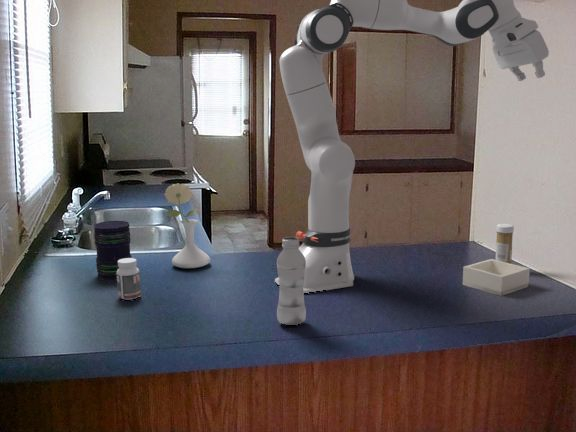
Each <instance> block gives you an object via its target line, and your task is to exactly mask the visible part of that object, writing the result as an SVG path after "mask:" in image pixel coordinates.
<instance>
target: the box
mask: <svg viewBox="0 0 576 432" xmlns="http://www.w3.org/2000/svg"><path fill="white" fill-rule="evenodd" d="M530 270H531V268H530V267H525V266H522V265H517V264H513V263H511V264H510V263H506V262H502V261H498V260H496V259H494V258H490V259H486V260H481V261H479V262H475V263H472V264H469V265H464V266H463V271H462V285H463V286H465V287H469V288H473V289H476V290H480V291H482V292H486V293H488V294H489V293H490V294H493V295H497V296H499V297H502V296H505V295H508V294H511V293H514V292H516V291H520V290H522V289H526V288H529V285H530V273H531V271H530Z"/></svg>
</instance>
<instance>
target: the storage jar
mask: <svg viewBox="0 0 576 432" xmlns="http://www.w3.org/2000/svg"><path fill="white" fill-rule="evenodd" d="M93 229H94V230H93V233H94V234H93V237H94V238H93V239H94V245H95V248H96V249H95V250H96V259H95V262H96V264H95V265H96V266H95V267H96V270H97V278H98V279H99V280H101V281H117V270H118V269H119V266H118V260H120V259H124V258H133V256H132V255H131V247H130V246H131V244H130V243H131V240H132V239H131V231H130V223H129V221H124V220H107V221H106V220H105V221H101V222H98V223H95V224H94V225H93Z"/></svg>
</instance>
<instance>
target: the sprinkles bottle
mask: <svg viewBox="0 0 576 432" xmlns="http://www.w3.org/2000/svg"><path fill="white" fill-rule="evenodd" d="M495 230H496V241H495V259H494V260H498V261H502V262H506V263H510V264H512V260H513V259H512V258H513V257H512V256H513V236H514V235H513V234H514V225H513V224H510V223H498V224H496V229H495Z"/></svg>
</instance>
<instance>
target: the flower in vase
mask: <svg viewBox="0 0 576 432" xmlns="http://www.w3.org/2000/svg"><path fill="white" fill-rule="evenodd" d="M163 195H164V196H165V199H166V200H167V202H168V203H170V204H174V205H177V206H178V210H177V209H172V210H170V211H168V213H167V214H166V216H168V217H169V216H170V217H174V218H177V217H179V216H180V215H181V216H182V217H183V218H184V219H183V220H181V221H180V223H181V224H182V226H183V228H184V232H185V237H186V238H185V240H186V242H185V244H184V245H185V246H184V247H183V248H182V249H181V250H180V251H178V252H177V253H176V255H174V256H173V257H172V260H171V264H172V265H173V266H175V267H177V268H181V269H197V268H202V267H204V266H207V265H208V264H210V262H211V258H210V256H209V255H208V254H207V253H206V252H204V251H203V250H202V249H200V248H199V247H198V246H197V245H196V243H195V238H194V237H195V235H194V234H195V228H196V225H197V223H198V221H199V220H198V219H195V218H192V219H189V217H191V216H193V215H194V214H196V213H197V211H198V208H195V209H194V210H191V211H189V212H187V214H186V215H185V214H184V213H183V212H182V209H181V205H182V204H186V203H188V202H190V199H191V198H192V196H193V192H192V190H191V188H190V187H189V185H185V184H184V183H181V184H180V183H178V182H177V183H176V184H175V183H173V184H171V185H169V186H168V187H167V188H166V190H165V193H163Z"/></svg>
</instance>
